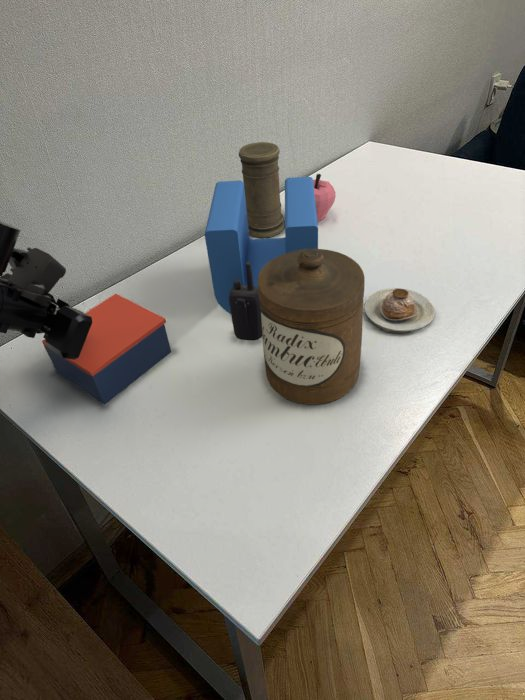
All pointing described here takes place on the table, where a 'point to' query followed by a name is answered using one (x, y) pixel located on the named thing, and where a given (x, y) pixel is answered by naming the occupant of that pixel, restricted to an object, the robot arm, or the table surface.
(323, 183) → the apple
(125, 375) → the box
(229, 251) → the block
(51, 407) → the table surface
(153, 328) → the lid
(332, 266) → the wooden container
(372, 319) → the pastry
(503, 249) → the table surface
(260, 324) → the two-way radio
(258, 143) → the container
